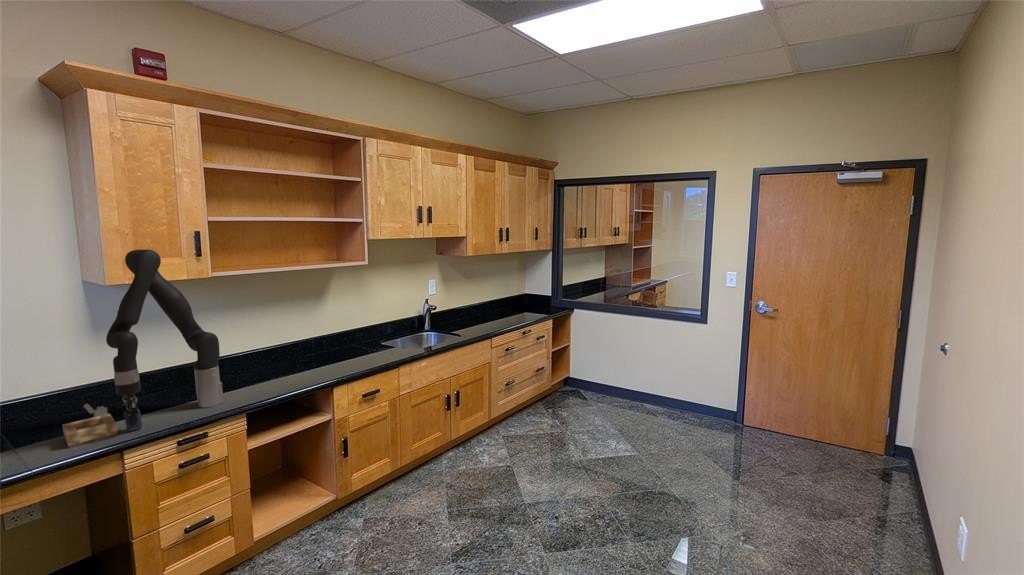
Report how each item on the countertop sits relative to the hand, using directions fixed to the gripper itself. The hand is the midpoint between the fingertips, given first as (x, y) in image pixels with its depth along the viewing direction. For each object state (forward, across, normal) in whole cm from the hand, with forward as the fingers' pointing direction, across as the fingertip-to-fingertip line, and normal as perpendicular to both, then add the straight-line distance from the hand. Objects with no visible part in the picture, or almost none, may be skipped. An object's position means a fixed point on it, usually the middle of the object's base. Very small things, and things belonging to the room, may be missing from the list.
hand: (133, 422), depth 188 cm
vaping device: (+3, 0, 0) cm, 3 cm away
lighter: (+3, +24, +8) cm, 26 cm away
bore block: (+3, +6, +12) cm, 14 cm away
